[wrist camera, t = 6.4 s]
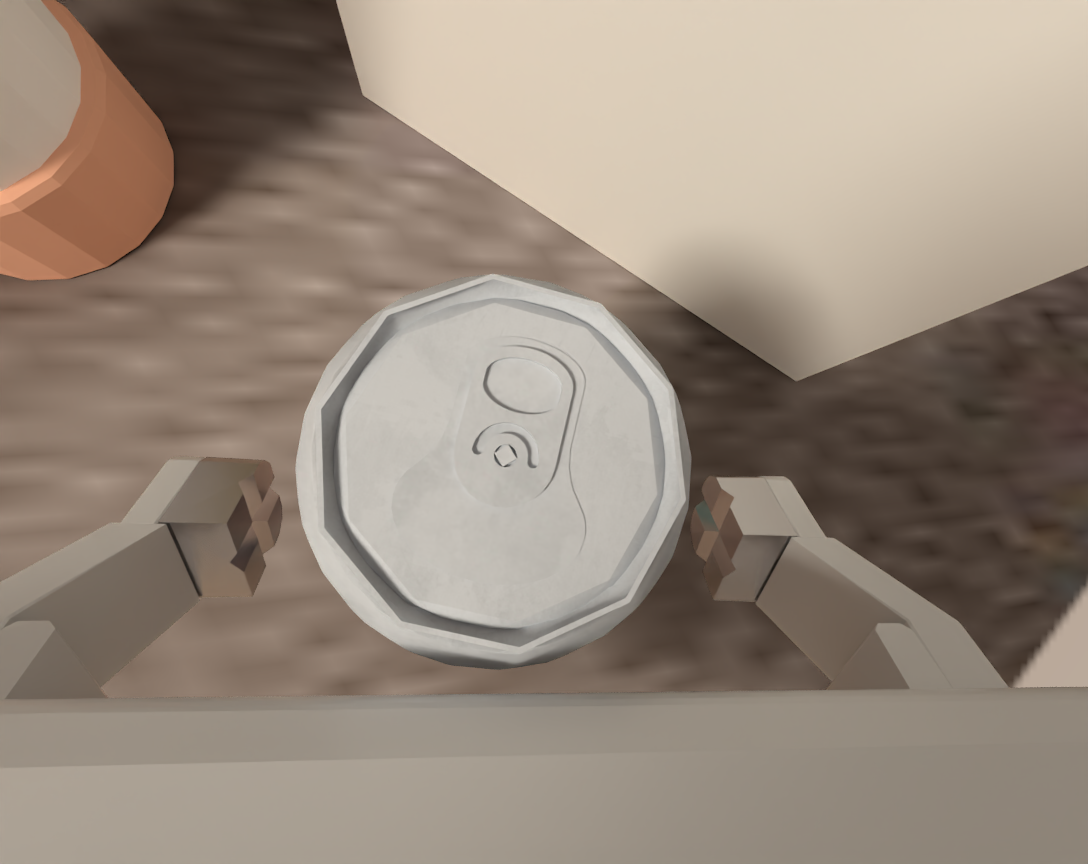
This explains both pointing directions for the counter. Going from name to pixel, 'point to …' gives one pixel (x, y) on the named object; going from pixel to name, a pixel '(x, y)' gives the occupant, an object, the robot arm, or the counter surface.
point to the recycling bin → (768, 147)
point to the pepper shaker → (72, 149)
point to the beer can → (493, 472)
